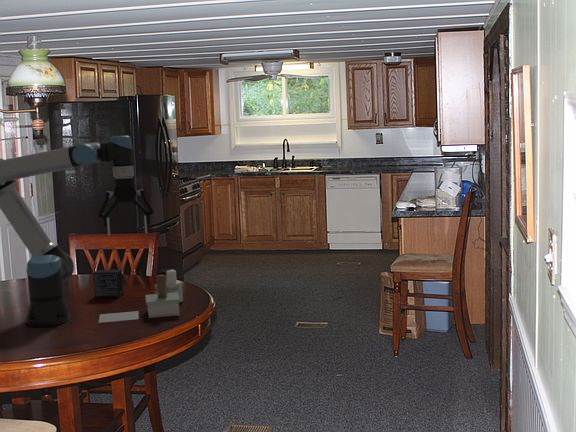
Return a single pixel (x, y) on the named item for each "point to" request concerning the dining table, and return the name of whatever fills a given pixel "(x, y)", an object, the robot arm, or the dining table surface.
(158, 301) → the lid
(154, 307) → the dish
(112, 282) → the small box
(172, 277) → the container
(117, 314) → the mat
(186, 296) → the dining table surface
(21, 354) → the dining table surface
